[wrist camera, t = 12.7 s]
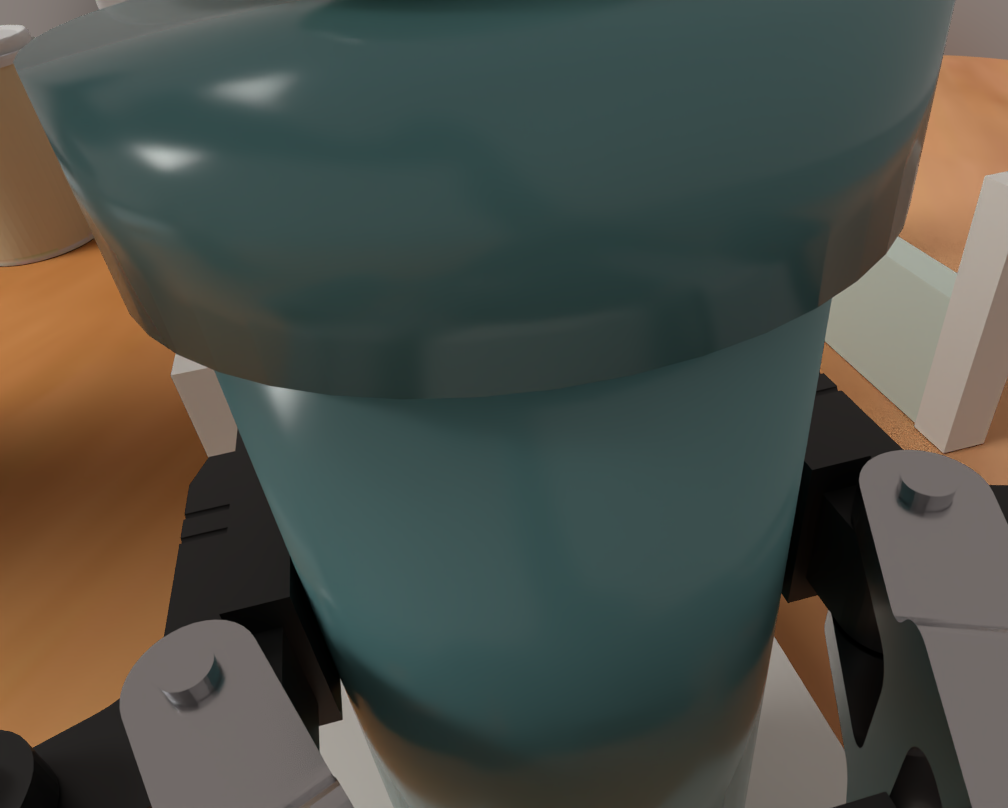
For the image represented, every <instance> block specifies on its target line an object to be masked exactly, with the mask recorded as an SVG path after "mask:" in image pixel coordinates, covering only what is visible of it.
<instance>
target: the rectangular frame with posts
mask: <svg viewBox="0 0 1008 808" xmlns="http://www.w3.org/2000/svg"><path fill="white" fill-rule="evenodd" d="M825 342H826V343H827V344H829V345H830V346H831V347H832V348H833V349H834V350H835V351H836V352H837V353H838V354H840V355H841V356H842V357H843V358H844V359H845V360H846V361H847V362H848V363H849V364H851V365H852V366H853V367H854V368H855V369H856V370H857V371H858V372H859V373H861V374H862V375H863V376H864V377H865V378H866V379H867V380H868V381H869V382H870V383H872V384H873V385H874V386H875V387H876V388H877V389H878V390H879V391H880V392H881V393H883V394H884V395H885V396H886V397H887V398H888V399H889V400H890V401H891V402H893V403H894V404H895V405H896V406H897V407H898V408H899V409H900V410H901V411H902V412H904V413H905V414H906V415H907V416H908V417H909V418H910V419H911V420H912V421H913V422H915V425H914V427H915V428H916V429H917V430H918V431H920V432H921V433H922V434H923V435H924V436H925V437H926V438H927V439H928V440H929V441H930V442H932V443H933V444H934V445H935V446H936V447H937V448H938V449H939V450H940V451H941V452H942V453H947V452H951V451H955V450H959V449H963V448H967V447H971V446H975V445H979V444H983V443H984V441H985V438H986V436H987V433H988V430H989V427H990V424H991V422H992V419H993V416H994V413H995V411H996V408H997V405H998V402H999V399H1000V397H1001V394H1002V391H1003V388H1004V386H1005V383H1006V380H1007V377H1008V171H1007V172H1002V173H997V174H992V175H987V176H985V178H984V181H983V185H982V188H981V192H980V195H979V199H978V202H977V206H976V209H975V213H974V217H973V220H972V224H971V227H970V231H969V234H968V238H967V241H966V245H965V248H964V252H963V255H962V259H961V263H960V266H959V270H958V273H956V272H954V271H953V270H951V269H949V268H948V267H946V266H945V265H943V264H941V263H940V262H938V261H937V260H935V259H933V258H932V257H930V256H929V255H927V254H925V253H924V252H922V251H921V250H919V249H917V248H916V247H914V246H913V245H911V244H909V243H908V242H906V241H905V240H903V239H901V238H900V237H897V238H896V240H895V241H894V243H893V244H892V246H891V247H890V249H889V250H888V252H887V253H886V255H885V256H884V257H882V258H881V259H880V260H879V261H878V262H877V263H876V264H875V265H874V266H873V267H872V268H871V269H870V270H869V271H868V272H867V273H866V274H865V275H863V276H862V277H861V278H860V279H859V280H858V281H857V282H855V283H854V284H852V285H851V286H849V287H848V288H846V289H845V290H843V291H842V292H840V293H839V294H837V295H836V296H834V297H833V298H832V301H831V307H830V313H829V319H828V324H827V330H826V336H825ZM171 378H172V380H173V382H174V384H175V386H176V388H177V391H178V393H179V395H180V397H181V399H182V401H183V404H184V406H185V408H186V410H187V412H188V415H189V417H190V419H191V421H192V423H193V425H194V428H195V430H196V432H197V434H198V436H199V438H200V441H201V443H202V445H203V447H204V449H205V451H206V454H207V456H208V458H209V457H211V456H215V455H220V454H224V453H229V452H233V451H235V448H236V438H237V425H236V423H235V420H234V418H233V416H232V413H231V411H230V408H229V406H228V403H227V401H226V398H225V396H224V394H223V391H222V389H221V386H220V384H219V381H218V379H217V377H216V374H215V372H214V370H212V369H210V368H208V367H205V366H203V365H201V364H198V363H196V362H194V361H191V360H189V359H186V358H184V357H182V356H179V355H177V354H176V355H175V359H174V363H173V367H172V372H171Z"/></svg>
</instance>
